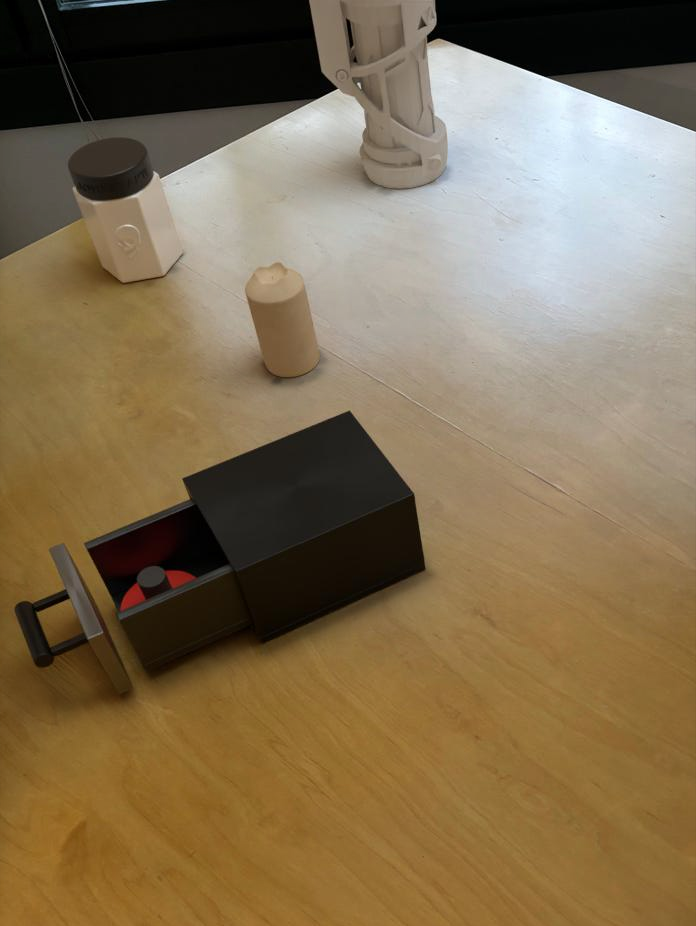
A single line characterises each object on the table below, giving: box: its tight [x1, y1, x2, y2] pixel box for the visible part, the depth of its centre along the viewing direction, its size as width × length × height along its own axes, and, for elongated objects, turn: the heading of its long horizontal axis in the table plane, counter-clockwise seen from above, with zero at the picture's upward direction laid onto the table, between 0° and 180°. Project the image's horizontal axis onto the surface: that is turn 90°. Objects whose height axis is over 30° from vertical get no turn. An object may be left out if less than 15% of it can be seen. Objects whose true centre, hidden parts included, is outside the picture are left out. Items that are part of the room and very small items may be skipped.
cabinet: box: [181, 410, 426, 644], centre depth 86 cm, size 15×12×9 cm
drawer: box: [13, 498, 253, 695], centre depth 82 cm, size 18×10×7 cm, turn 119°
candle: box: [244, 261, 321, 378], centre depth 102 cm, size 6×6×10 cm
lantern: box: [308, 0, 449, 190], centre depth 118 cm, size 13×10×25 cm
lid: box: [121, 566, 196, 611], centre depth 83 cm, size 7×7×4 cm
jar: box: [67, 136, 184, 284], centre depth 114 cm, size 9×8×12 cm
